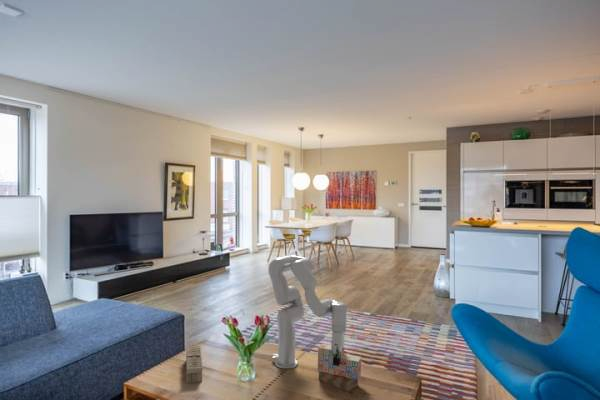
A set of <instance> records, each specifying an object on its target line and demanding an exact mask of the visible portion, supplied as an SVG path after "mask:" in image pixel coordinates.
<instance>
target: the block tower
mask: <svg viewBox="0 0 600 400" xmlns="http://www.w3.org/2000/svg"><path fill="white" fill-rule="evenodd" d="M185 351H186V352H185V353H186V354H185V357H186V359H185V362H186V363H185V369H186V370H185V371H186V372H185V375H186V376H185V377H186V379H185V380H186V384H192V383H198V382H203V369H204V368H203V367H204V366H203V362H202V358H203V357H202V350H201V345H196V346H190V347H186V350H185Z"/></svg>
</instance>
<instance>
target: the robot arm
mask: <svg viewBox="0 0 600 400" xmlns="http://www.w3.org/2000/svg"><path fill="white" fill-rule="evenodd" d="M314 266H315V265H314V263H313V261H312V260H311V259H310V258H307V257H302V256H297V255H285V256H280V257H277V258H273V260H271V262H270V263H269V265H268V274H269V275H268V276H269V277H270V280H271V284H272V289H273V294H274V297H275V298H274V299H275V301H276V304H277V305H278V306H281V307H282V306H284V307H283V308H281V309H280V310H279V311H278V312H277V316H276V320H277V325H278V327H277V328H278V330H277V331H278V342H277V343H278V346H277V347H278V349H277V350H278V351H277V353H272V354H271V359H273V360H275V363H274V364H275V366H276V367H278V368H280V369H285V370H288V369H289V370H290V369H293V368H296V367H297V366H298V362H299V361H298V360H297V359H296V329H295V327H294V324H295V323H297V322H299V321H301V320H302V319H303V318H304V316H305V309H304V304H303V301H302V296H301V294H300V291H299V288H297V287H296V286H295V285H288V279H287V278H286V276H285V274H283V273H284V272H290V271H291V272H292V274H293V275H294V276H295V279H297V281H298V282H299V284H300V285H301V287H302V288H303V289H304V298H305V302H306V304H307V306H308V308H309V309H310V310H311V312H312V313H313V314H314V315H315V316H316V317H318V318H324V317H326V316H328V315H331V319H330V320H331V325H330V326H331V327H330V329H331V330H330V331H331V341H330V345H331V351H333V350H334V351H333V365H335V366H339V360H340V358H339V352H341V350H342V349H343V348H345V347H344V346H345V332H347V304H346V303H345V302H341V301H336V300H334V299H332V298H326V299H323V300H321V301H320V299H319V298H318V296H317V294H316V290H315V289H316V286H317V284H318V280H317V278H316V276H315V275H314V274H313V273H312V272H313V271H314ZM286 305H288V306H286ZM285 306H286V307H285ZM337 350H338V351H337ZM336 353H338V355H337V354H336Z"/></svg>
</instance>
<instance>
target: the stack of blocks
mask: <svg viewBox="0 0 600 400" xmlns="http://www.w3.org/2000/svg"><path fill="white" fill-rule="evenodd" d="M333 351H334V350H333ZM333 351H331V344H328V343H321V344H320V345H319V346H318V347H317V372H319V371H320V372H324V373H329V374H332V375H337V376H342V377H346V378H350V379H354V380H358V381H359V378H360V377H361V375H362V371H361V370H362V356H356V355H353V354H349V353H345V347H343V349H342V350H341V352H339V358H340V360H339V366H335V365H333ZM337 351H338V350H337ZM336 354H337V355H338V353H336Z"/></svg>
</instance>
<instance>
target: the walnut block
mask: <svg viewBox="0 0 600 400" xmlns="http://www.w3.org/2000/svg"><path fill="white" fill-rule="evenodd" d="M318 380H319V381H322V382H324V383H327V384H328V385H330V386H333V387H336V388H338V389H340V390H342V391H345V392H350V391H352V389H355V387H357V386H358V385H359V379H358V380H354V379H350V378H346V377H342V376H337V375H332V374H329V373H324V372H320V371H318Z"/></svg>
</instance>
